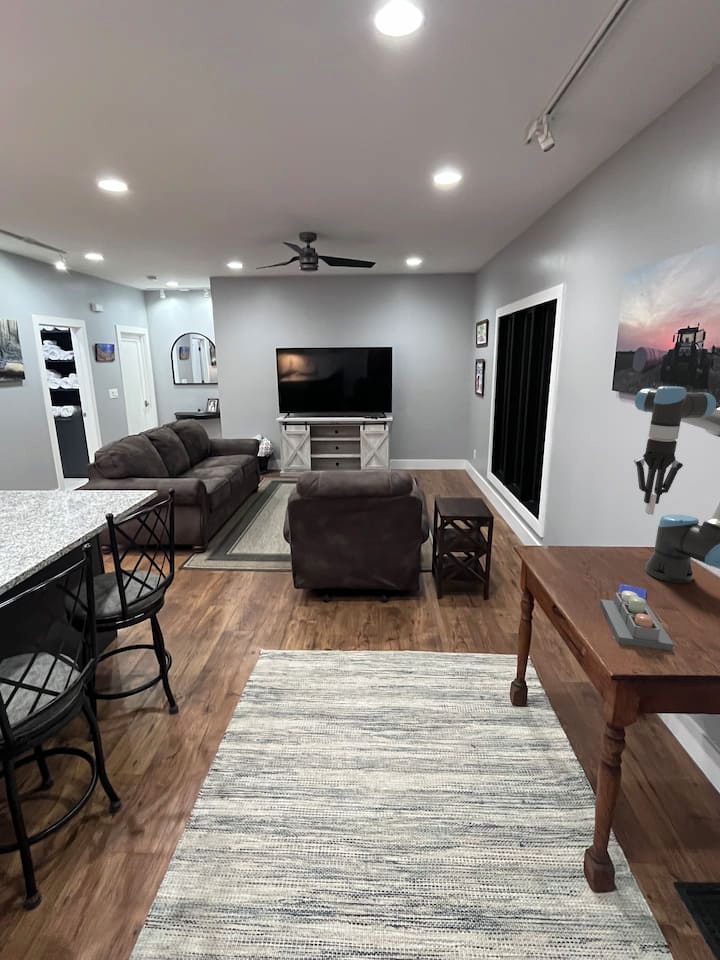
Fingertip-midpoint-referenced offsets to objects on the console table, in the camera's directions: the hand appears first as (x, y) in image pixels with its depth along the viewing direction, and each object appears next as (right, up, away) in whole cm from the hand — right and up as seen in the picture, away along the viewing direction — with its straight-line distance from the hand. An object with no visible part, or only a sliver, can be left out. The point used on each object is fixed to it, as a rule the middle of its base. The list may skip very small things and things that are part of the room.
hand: (649, 513), depth 149 cm
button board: (-7, -34, -3) cm, 35 cm away
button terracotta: (-8, -33, -11) cm, 36 cm away
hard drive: (+3, -30, +15) cm, 34 cm away
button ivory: (-5, -30, +3) cm, 30 cm away
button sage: (-7, -30, -4) cm, 31 cm away
